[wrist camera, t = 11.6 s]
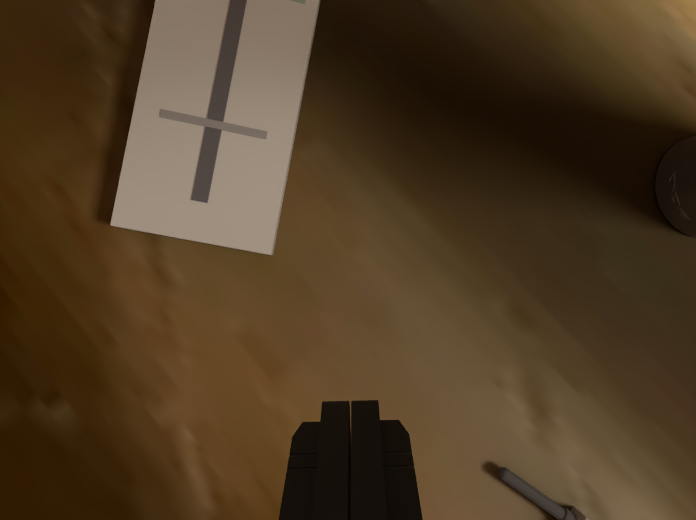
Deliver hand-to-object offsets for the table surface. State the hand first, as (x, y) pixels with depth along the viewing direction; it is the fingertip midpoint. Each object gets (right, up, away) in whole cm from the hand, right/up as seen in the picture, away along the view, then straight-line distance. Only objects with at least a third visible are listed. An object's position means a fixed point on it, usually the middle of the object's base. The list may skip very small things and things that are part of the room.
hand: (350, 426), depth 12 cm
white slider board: (-9, +21, +25) cm, 34 cm away
